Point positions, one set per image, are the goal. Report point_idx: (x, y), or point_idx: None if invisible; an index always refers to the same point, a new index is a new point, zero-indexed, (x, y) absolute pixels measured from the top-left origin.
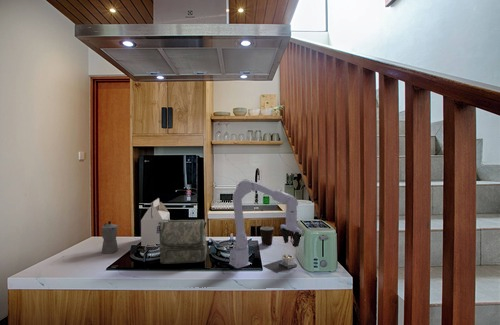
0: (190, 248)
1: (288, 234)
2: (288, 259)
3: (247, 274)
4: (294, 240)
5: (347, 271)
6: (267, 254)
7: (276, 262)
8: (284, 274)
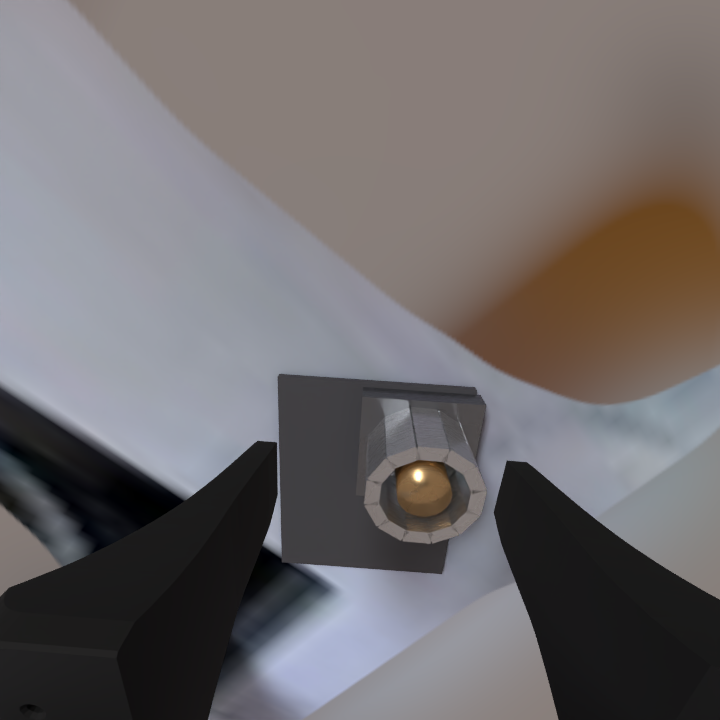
0: None
1: (217, 538)
2: (463, 522)
3: (323, 664)
4: (544, 634)
5: None
6: (76, 364)
7: (298, 455)
8: (486, 543)
